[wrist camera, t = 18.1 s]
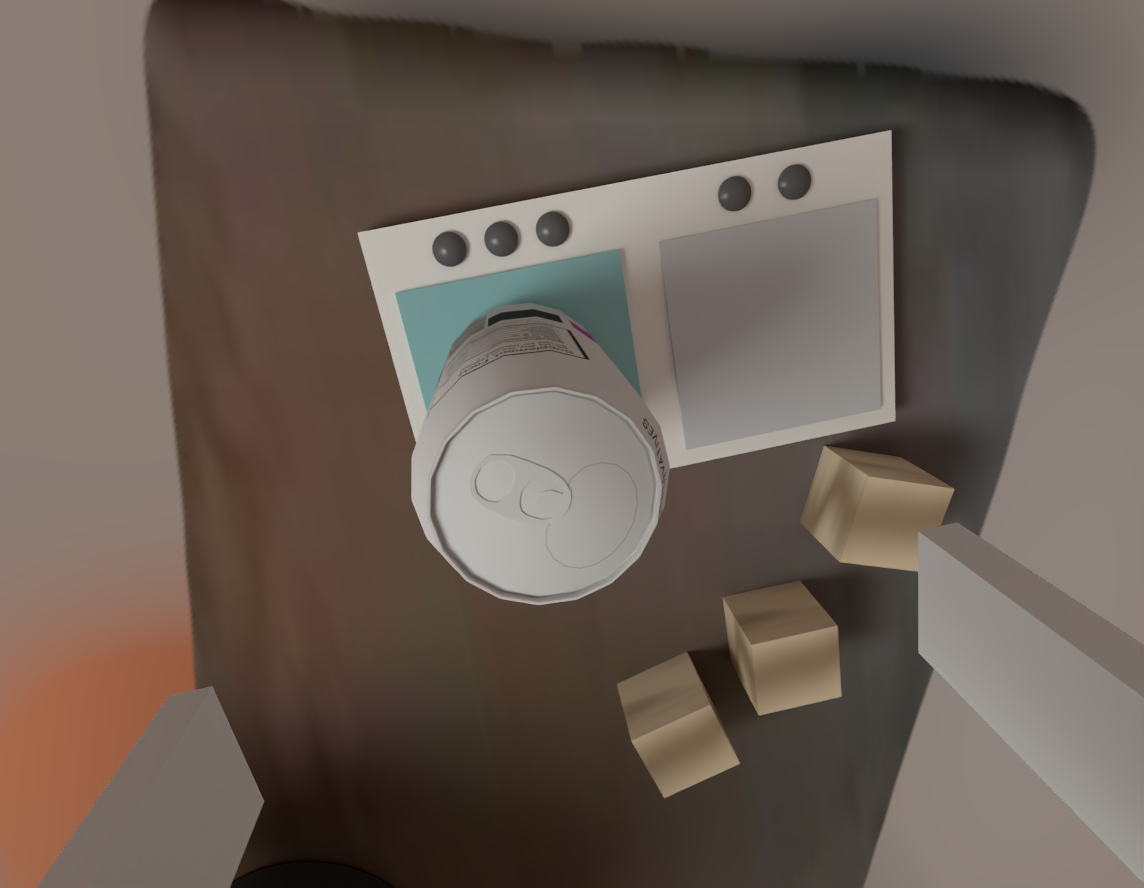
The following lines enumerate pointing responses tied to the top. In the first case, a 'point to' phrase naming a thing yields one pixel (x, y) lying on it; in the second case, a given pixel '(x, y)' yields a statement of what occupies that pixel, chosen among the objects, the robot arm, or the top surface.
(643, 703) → the maple block
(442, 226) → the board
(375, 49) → the top surface
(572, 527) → the supplement can
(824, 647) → the maple block
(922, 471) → the maple block
